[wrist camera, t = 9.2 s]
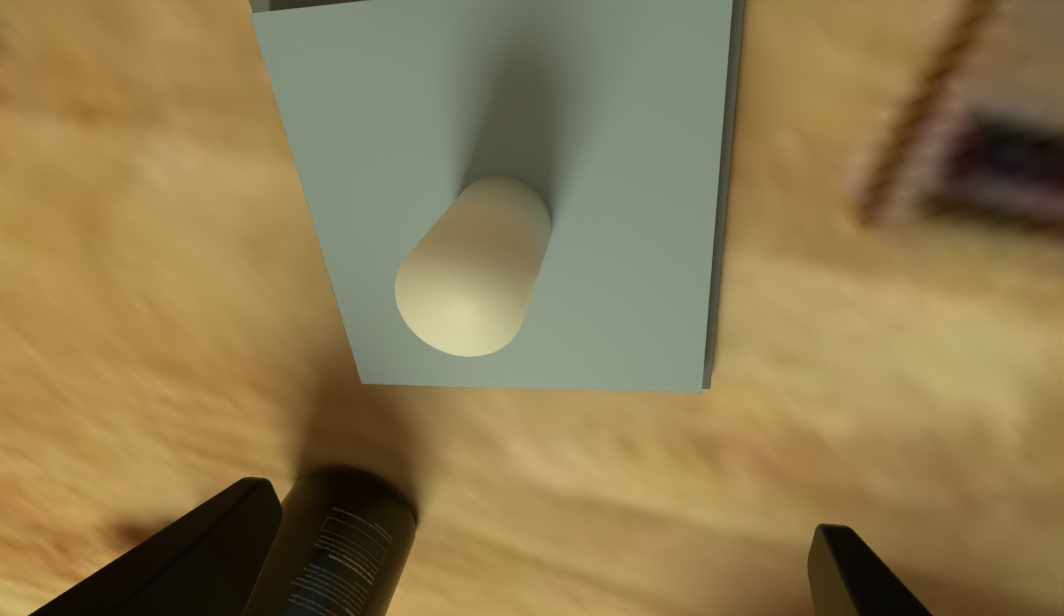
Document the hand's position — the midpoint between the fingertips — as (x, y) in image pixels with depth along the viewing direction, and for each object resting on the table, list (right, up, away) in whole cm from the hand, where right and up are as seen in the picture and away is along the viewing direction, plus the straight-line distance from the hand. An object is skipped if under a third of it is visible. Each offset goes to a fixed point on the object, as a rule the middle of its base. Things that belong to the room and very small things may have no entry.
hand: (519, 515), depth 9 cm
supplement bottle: (-9, -7, +20) cm, 23 cm away
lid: (-1, +7, +9) cm, 11 cm away
